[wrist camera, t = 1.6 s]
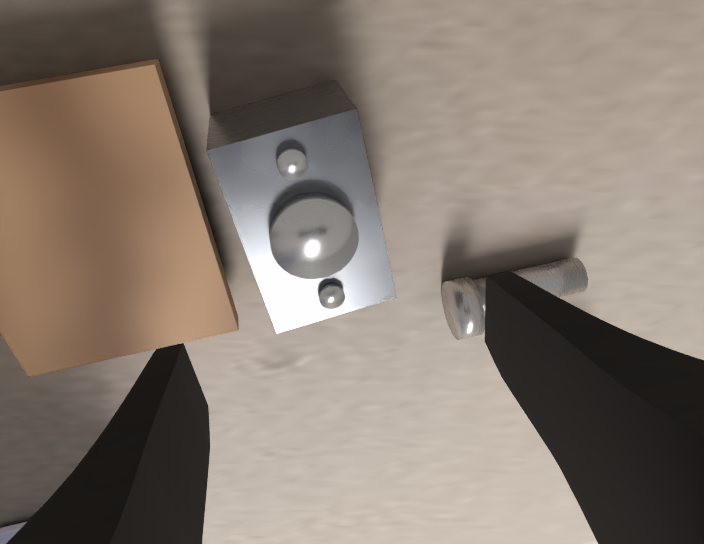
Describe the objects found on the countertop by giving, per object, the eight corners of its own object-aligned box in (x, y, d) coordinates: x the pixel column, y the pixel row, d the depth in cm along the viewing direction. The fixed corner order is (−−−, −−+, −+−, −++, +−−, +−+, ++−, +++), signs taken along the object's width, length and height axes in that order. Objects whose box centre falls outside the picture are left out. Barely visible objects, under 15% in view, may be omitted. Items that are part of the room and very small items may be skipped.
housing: (269, 275, 23) (278, 344, 19) (210, 113, 19) (205, 157, 15) (372, 245, 23) (401, 306, 19) (334, 78, 19) (361, 114, 15)
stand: (43, 343, 22) (28, 377, 20) (-101, 97, 17) (-137, 115, 15) (237, 301, 23) (238, 330, 21) (161, 52, 17) (154, 64, 16)
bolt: (442, 316, 25) (462, 351, 23) (440, 270, 24) (461, 303, 22) (566, 288, 26) (597, 320, 24) (571, 241, 24) (604, 271, 22)
